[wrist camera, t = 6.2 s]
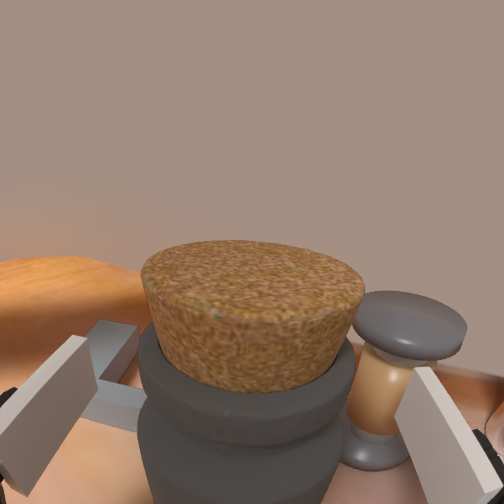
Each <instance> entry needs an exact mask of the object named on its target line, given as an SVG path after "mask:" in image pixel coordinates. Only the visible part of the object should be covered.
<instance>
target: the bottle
mask: <svg viewBox="0 0 504 504" xmlns="http://www.w3.org/2000/svg"><path fill="white" fill-rule="evenodd" d="M141 279H142V283H143V287H144V291H145V295H146V298H147V302H148V306H149V309H150V313H151V316H152V320H153V321H152V322H151V323H150V324H149V325H148V327H147V328H146V329H145V331H144V332H143V334H142V336H141V338H140V342H139V346H138V361H139V372H140V377H141V382H142V386H143V389H144V391H145V393H146V395H147V398H146V400H145V402H144V403H143V406H142V408H141V410H140V413H139V417H138V421H137V436H138V442H139V447H140V452H141V456H142V461H143V465H144V469H145V472H146V476H147V479H148V483H149V486H150V490H151V493H152V496H153V499H154V502H155V504H320V503H321V501H322V499H323V497H324V495H325V493H326V491H327V488H328V486H329V484H330V482H331V479H332V477H333V475H334V473H335V470H336V468H337V465H338V463H339V461H340V458H341V454H342V451H343V446H344V426H343V421H342V419H341V416H340V414H339V412H340V410H341V409H342V407H343V405H344V404H345V402H346V400H347V398H348V395H349V392H350V389H351V386H352V382H353V378H354V374H355V370H356V357H355V353H354V350H353V346H352V345H351V343H350V342H349V340H348V339H347V337H346V335H347V333H348V331H349V329H350V326H351V324H352V322H353V320H354V318H355V315H356V313H357V311H358V309H359V306H360V304H361V302H362V299H363V297H364V294H365V285H364V282H363V280H362V277H361V276H360V275H359V274H358V273H357V272H356V271H355V270H353V269H352V268H351V267H349V266H348V265H346V264H344V263H343V262H341V261H339V260H337V259H334V258H332V257H330V256H327V255H324V254H321V253H317V252H314V251H311V250H308V249H302V248H297V247H293V246H288V245H282V244H276V243H266V242H256V241H244V240H231V241H229V240H228V241H227V240H226V241H204V242H195V243H189V244H184V245H179V246H175V247H172V248H168V249H166V250H163V251H160V252H158V253H156V254H155V255H153V256H151V257H150V258H149V259H148V260H147V261H146V262H145V264H144V265H143V268H142V271H141Z"/></svg>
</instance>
